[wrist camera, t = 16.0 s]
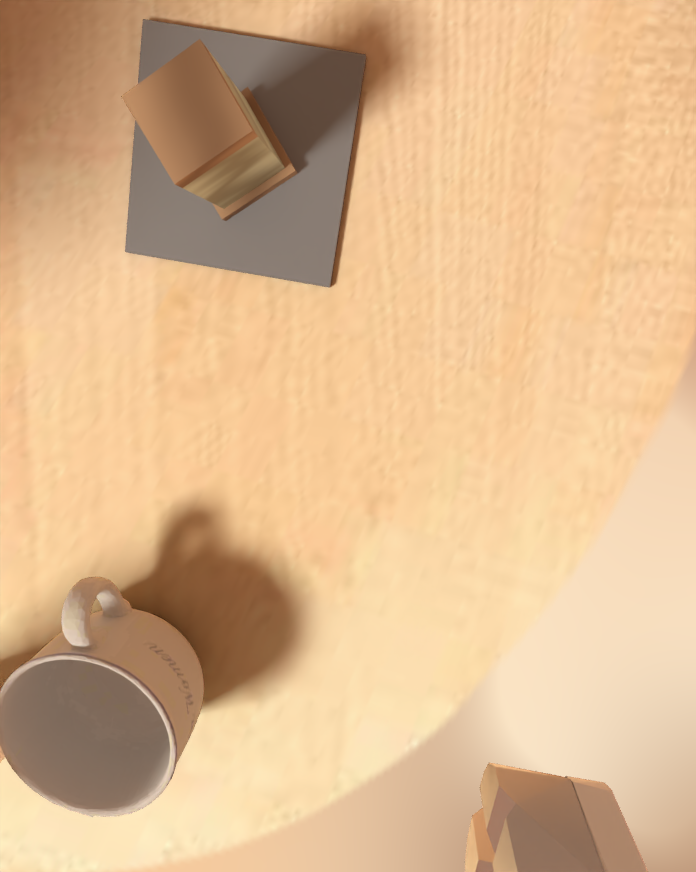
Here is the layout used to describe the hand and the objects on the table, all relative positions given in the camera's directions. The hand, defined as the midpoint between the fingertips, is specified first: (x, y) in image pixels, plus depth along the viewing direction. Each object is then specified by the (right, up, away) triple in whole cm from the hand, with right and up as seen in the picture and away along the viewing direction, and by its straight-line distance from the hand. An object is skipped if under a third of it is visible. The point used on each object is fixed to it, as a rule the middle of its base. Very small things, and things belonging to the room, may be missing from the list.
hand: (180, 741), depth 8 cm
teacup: (-12, -10, +33) cm, 37 cm away
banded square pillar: (-4, +19, +25) cm, 32 cm away
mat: (-4, +19, +26) cm, 32 cm away
